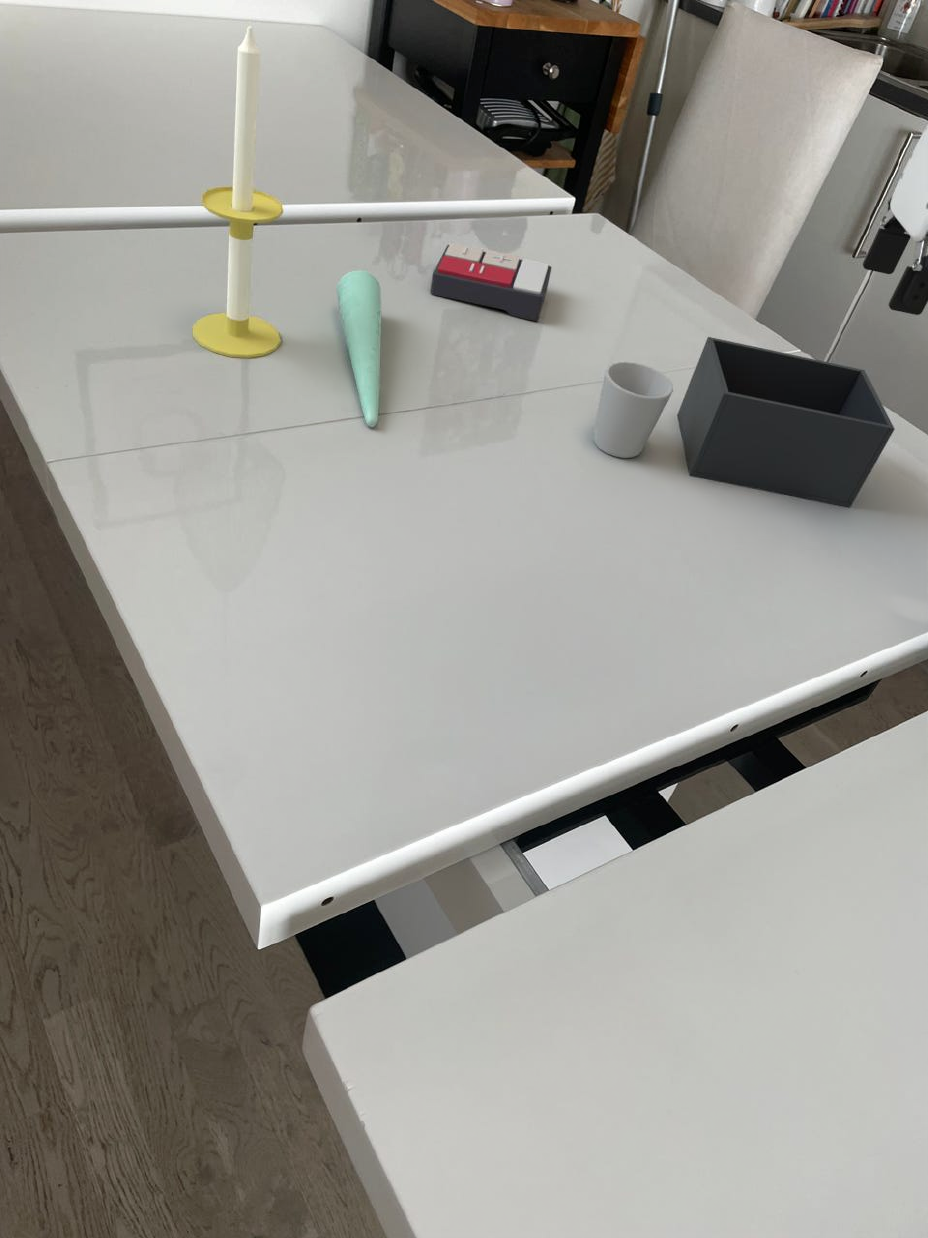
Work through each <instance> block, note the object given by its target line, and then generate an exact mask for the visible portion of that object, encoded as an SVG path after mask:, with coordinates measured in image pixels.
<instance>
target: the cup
mask: <svg viewBox="0 0 928 1238" xmlns="http://www.w3.org/2000/svg"><path fill="white" fill-rule="evenodd" d="M673 392H674V387H673V384H672V381H671V380H670V379H669V378H668V377H667V376H666V375H665V374H663V373H662V372H661V371H659V370H657V369H656V368H653V367H651V366H648V365H645V364H643V363H638V362H632V361H617V362H613V363H612V364H610V365H608V367H607V368H606V369H605V373H604V377H603V381H602V388H601V391H600V395H599V396H600V397H599V400H598V407H597V412H596V419H595V425H594V431H593V438H592V439H593V442H594V444H595V446H597V447H598V449H600V450H601V451H602V452H604V453H606V454H607V455H610V456H613V457H615V458H621V459H629V458H634V457H637V456H638V455H640V454H641V452H642V450H643V448H644V447H645V445H646V443H647V441H648V440H649V438H650V436H651V434H652V433H653V431H654V429H655V427H656V426H657V423H658V422H659V420H660V417H661V416H662V413H663V411H664V410H665V408H666V406H667V403H668V402H669V400H670V398H671V396H672V393H673Z"/></svg>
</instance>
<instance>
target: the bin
mask: <svg viewBox="0 0 928 1238" xmlns="http://www.w3.org/2000/svg"><path fill="white" fill-rule="evenodd" d="M866 372H867V371H866V370H865V369H863V368H857V367H852V366H848V365H842V364H838V363H833V362H828V361H823V360H819V359H814V358H809V357H805V356H801V355H795V354H791V353H788V352H787V353H786V352H782V351H776V350H772V349H767V348H762V347H758V346H753V345H749V344H745V343H739V342H735V341H730V340H726V339H720V338H716V337H711V336H707V338H706V341H705V343H704V345H703V347H702V351H701V353H700V356H699V358H698V361H697V364H696V366H695V368H694V371H693V373H692V376H691V379H690V381H689V384H688V386H687V389H686V392H685V394H684V397H683V399H682V402H681V403H680V404H681V405H680V406H679V409H678V413H677V414H676V415H677V421H678V426H679V430H680V435H681V441H682V445H683V449H684V454H685V459H686V463H687V464H686V465H687V469H688V474H689V476H691V477H695V478H701V479H705V480H711V481H715V482H721V483H726V484H730V485H736V486H741V487H745V488H751V489H755V490H760V491H766V492H771V493H776V494H780V495H787V496H791V497H797V498H800V499H807V500H811V501H816V502H822V503H826V504H832V505H835V506H836V505H837V506H840V507H841V506H842V507H846V508H851V507H852V505H853V503H854V502H855V500H856V498H857V496H858V495H859V493H860V491H861V490H862V488H863V486H864V485H865V483H866V481H867V479H868V477H869V475H870V473H871V472H872V470H873V468H874V467H875V465H876V463H877V461H878V460H879V458H880V456H881V454H882V452H883V451H884V449H885V447H886V446H887V444H888V442H889V440H890V439H891V437H892V435H893V433H894V431H895V430H896V428H895V426H894V424H893V423H892V420H891V418H890V417H889V415H888V412H887V411H886V409H885V407H884V406H883V405H884V404H883V403H882V401H881V399H880V398H879V395H878V393H877V392H876V390H875V388H874V386H873V384H872V382H871V379H870V378H869V376H868V373H866Z"/></svg>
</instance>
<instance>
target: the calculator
mask: <svg viewBox="0 0 928 1238" xmlns="http://www.w3.org/2000/svg"><path fill="white" fill-rule="evenodd" d="M551 274H552V266H551V265H549V263H546V262H541V261H537V260H531V259H526V258H523V259H522V258H521V257H520V256H519V255H514V254H510V253H505V252H500V251H496V250H491V249H487V250H486V251H484V248H481V247H477V246H472V245H469V244H468V245H467V244H462V243H458V242H453V241H452V242H451V241H450V243H449V244H447V245H446V247H445V249H444V251H443V252H442V254H441V257H440V259H439V261H438V263H437V264H436V266H435V268H434V269H433V271H432V277H431V286H430V294H431V295H433V296H437V297H442V298H446V299H451V300H457V301H461V302H466V303H470V304H475V305H480V306H484V307H488V308H489V307H490V308H494V309H498V310H503V311H506V313H507V314H509V315H510V316H511V317H515V318H520V319H523V320H529V321H534V322H538V321H539V320H540V316H541V313H542V310H543V307H544V302H545V299H546V296H547V292H548V287H549V282H550V278H551Z"/></svg>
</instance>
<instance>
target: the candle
mask: <svg viewBox="0 0 928 1238" xmlns="http://www.w3.org/2000/svg"><path fill="white" fill-rule="evenodd" d="M253 29H254V28H253V27H252V20H251V19H250V20H249V26H247V29H246V32H245V36H244V38H243V41H242V43H241V44H240V45H239V46H238V47H237V58H236V59H237V60H236V90H235V113H234V114H235V115H234V116H235V119H234V141H233V142H234V144H233V145H234V146H233V168H232V169H233V173H232V186H217V187H213V188H210V189H207V190H205V191H204V192H203V193H202V194H201V196H200V197H201V198H200V199H201V205H202V206H203V208H205V209H206V210H207V211H208V212H209V213H210V214H213V215H215V216H217V217H219V218H221V219H224V220H229V235H228V236H229V237H228V264H227V290H226V291H227V292H226V312H219V313H212V314H208V315H206V316H204V317H201V318H199V319H198V320H197V321H196V322H195V324H194V325H192V337H193V339H194V340H195V341H196V342H197V343H198V344H199V345H200V346H201V347H203V348H204V349H206V350H209V351H210V352H212V353H214V354H218V355H222V356H226V357H230V358H242V359H250V358H257V357H258V358H259V357H265V356H267V355H268V354H271V353H273V352H275V351H276V350H277V349H278V348H279V346H280V344H281V342H282V341H281V337H280V332H279V331H278V330H277V328H275V327H274V326H273V324H271V323H269V322H268V321H265V320H263V319H262V318H259V317H257V316H252V315H250V302H251V286H252V284H251V283H252V265H253V264H252V263H253V243H254V227H255V226H254V225H255V224H264V223H271V222H273V221H276V220H278V219H279V218H280V217H281V216H282V215H283V213H284V207H283V203H281V202H280V201H279V200H278V199H277V198H276V197H274V196H273V195H269V194H267V193H266V192H263V191H260V190H257V189H255V187H254V186H255V170H256V169H255V167H256V150H257V148H256V147H257V146H256V145H257V129H258V128H257V127H258V109H259V108H258V105H259V90H260V89H259V85H260V68H261V64H260V63H261V50H260V49H259V48H258V46H257V44H256V40H255V35H254V31H253Z"/></svg>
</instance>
